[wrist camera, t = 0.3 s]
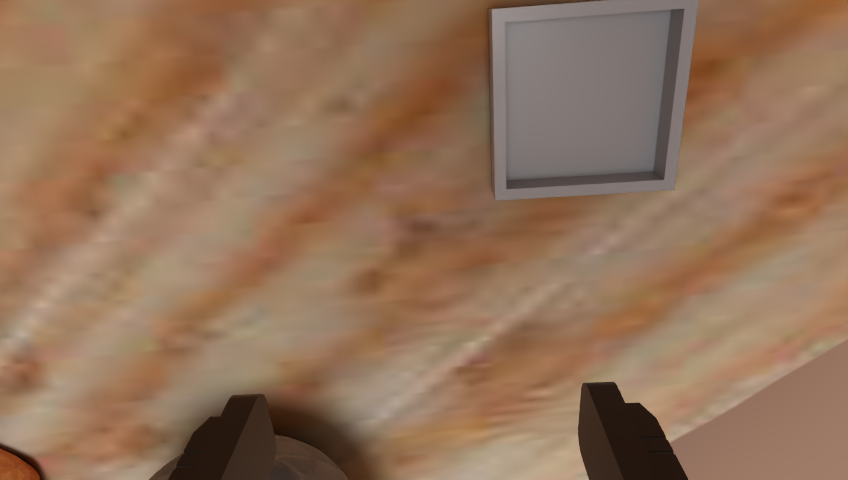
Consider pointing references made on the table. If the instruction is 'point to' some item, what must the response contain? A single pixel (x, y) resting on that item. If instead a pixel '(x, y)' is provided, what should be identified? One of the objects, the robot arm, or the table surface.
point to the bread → (15, 468)
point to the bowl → (287, 463)
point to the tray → (588, 96)
